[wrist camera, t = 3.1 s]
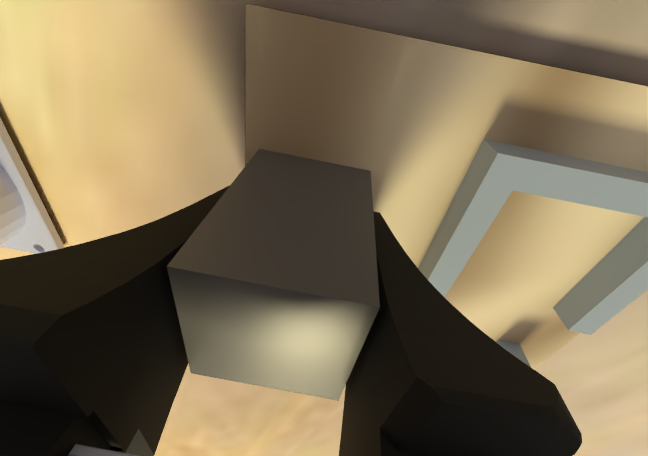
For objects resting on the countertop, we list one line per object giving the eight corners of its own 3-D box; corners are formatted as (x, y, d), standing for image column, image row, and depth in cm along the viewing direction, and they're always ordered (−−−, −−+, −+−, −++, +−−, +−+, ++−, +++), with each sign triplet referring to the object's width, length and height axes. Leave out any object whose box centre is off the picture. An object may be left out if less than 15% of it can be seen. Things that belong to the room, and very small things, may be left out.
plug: (253, 339, 17) (211, 464, 12) (259, 148, 10) (166, 266, 5) (318, 351, 17) (302, 480, 12) (370, 170, 10) (379, 307, 5)
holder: (411, 280, 13) (416, 301, 12) (483, 139, 9) (497, 153, 8) (573, 311, 13) (590, 334, 12) (713, 185, 9) (753, 204, 8)
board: (247, 349, 19) (245, 355, 18) (250, 4, 8) (245, 3, 8) (493, 396, 19) (495, 402, 19) (812, 120, 8) (830, 124, 8)
